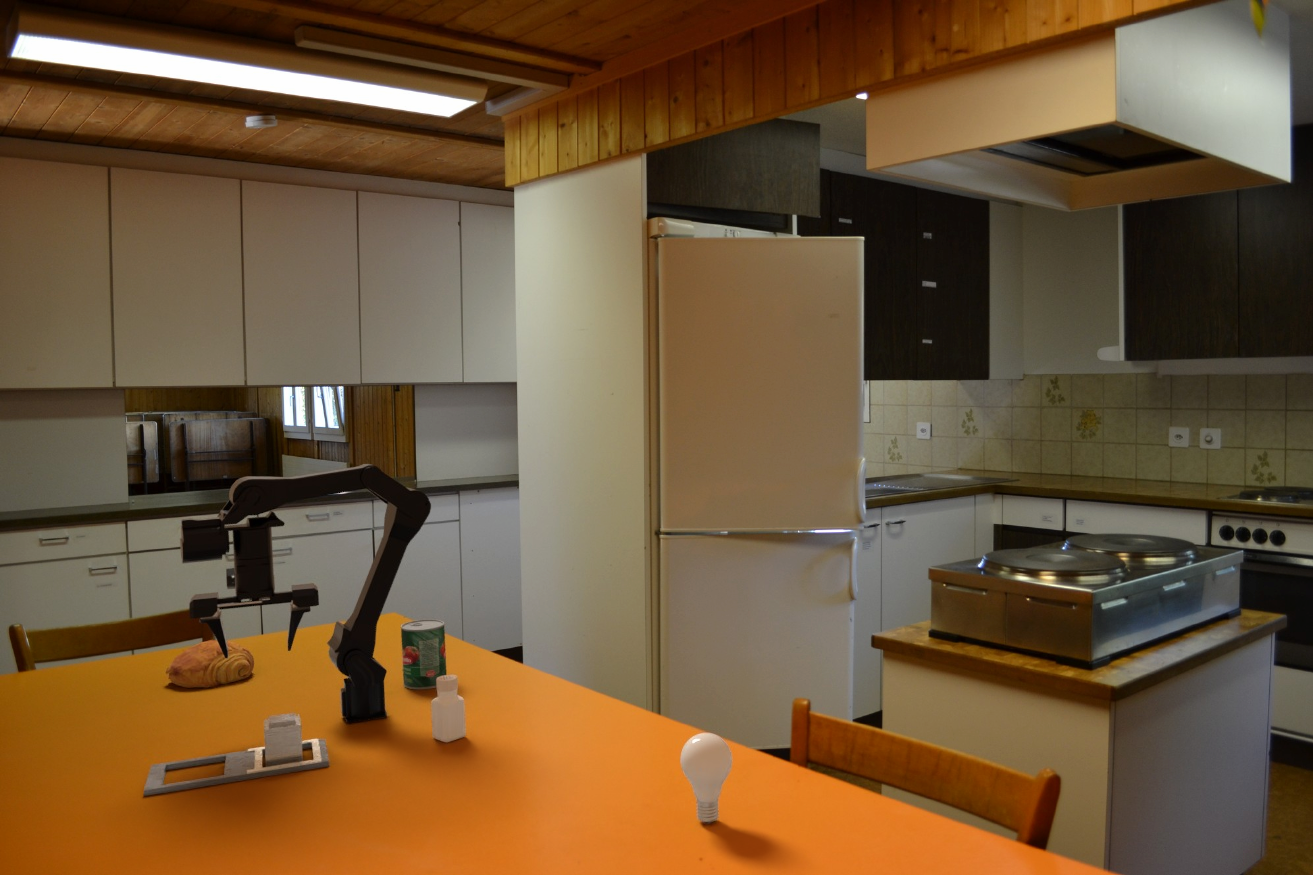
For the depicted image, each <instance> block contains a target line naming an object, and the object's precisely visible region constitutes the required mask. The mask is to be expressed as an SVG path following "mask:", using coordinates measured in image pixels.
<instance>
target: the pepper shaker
mask: <svg viewBox="0 0 1313 875" xmlns="http://www.w3.org/2000/svg"><path fill="white" fill-rule="evenodd" d="M458 685H459V683H458V676H457V675H455V674H447V675H443V676H440V677H437V679H436V686H437V687H436V691H437V696H436V697H435V698H433V699H432V700H431V702H430V704H431V705H430V707H431V708H430V709H431V710H430V711H431V712H430V713H431V730H432V731H431V733H432V734H431V735H432V737H433V739H435V740H438V741H441V742H444V743H450V742H452V741H455V740H458V739H462V738H465V736H466V734H467V732H466V731H467V730H466V711H465V710H466V708H465V707H466V706H465V705H466V704H465V703H466V702H465V699H464V697H462V696H461V695H458V689H459V686H458Z"/></svg>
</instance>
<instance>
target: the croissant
mask: <svg viewBox="0 0 1313 875" xmlns="http://www.w3.org/2000/svg"><path fill="white" fill-rule="evenodd" d="M227 645H228V658H225V656H224V654H223V652H222V650H221V648H220V645H219V643H218V641H217V639H209V640H207V641H206V640H205V641H202V642H199V643H197V644H194V645H193V646H191V647H188V648H186V650H184V651H182V652H181V653H180V654H178V655H177V656H176V657H175V658H174V659H173V661H172V662H171V663H170V665H169V666H168V667H167V668H166V670H165V674H166V675H168V680H169V681H170V682H171V683H173V684H175V685H176V686H179V687H183V688H188V689H189V688H191V689H192V688H194V689H195V688H204V689H205V688H206V689H207V688H214V687H217V686H219V685H227V684H231V683H234V682H239V681H241V680H246V679H247V678H249V677H250V676H251V674H252V673H253V670H254V669H255V660H254V659H255V658H254V655H253V654H252V653H251V652H250V651H249V650H248V649H247V648H245V647H244V646H241V645H240V644H238V643H236V642H234V641H233V642H232V641H229V640H227Z"/></svg>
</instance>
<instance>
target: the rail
mask: <svg viewBox="0 0 1313 875" xmlns="http://www.w3.org/2000/svg"><path fill="white" fill-rule="evenodd" d="M326 742H327V741H326V738H321V739H319V738H312V739H305V740H302V750H308V749H309V750H310V749H311V752H312V759H309V760H303V761H302V762H295V763H289V764H283V765H276V766H270V767H266V766H265V767H263V757H264V756H265V745H264V746H259V747H254V748H253V747H252V748H248V749H247V750H242V751H241V750H240V751H235V752H228V753H222V754H215V755H208V756H202V757H195V758H194V757H193V758H189V759H182V760H175V761H170V762H169V761H168V762H161V763H155V764H151V765H150V769H149V771H148V774H147V778H146V781H145V785H144V787H143V788H144V789H143V797H147V796H153V795H159V794H167V793H173V792H178V791H180V792H181V791H184V790H191V789H198V788H203V787H210V786H214V785H215V786H216V785H222V784H227V783H236V782H240V781H247V780H252V779H258V778H265V777H266V778H267V777H271V776H278V775H279V776H280V775H285V774H289V773H290V774H291V773H296V772H297V773H298V772H304V771H308V770H314V769H321V768H327V767H330V759H329V754H328V748H327V743H326ZM223 762H225V763H224V770H223V771H224V772H223V775H217V776H210V777H209V776H208V777H204V778H203V777H202V778H199V779H197V778H196V779H191V780H185V781H178V782H173V783H166V784H164V780H165V776H166V773H167V771H171V770H177V769H184V768H185V769H186V768H191V767H197V766H204V765H210V764H216V763H223Z"/></svg>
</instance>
